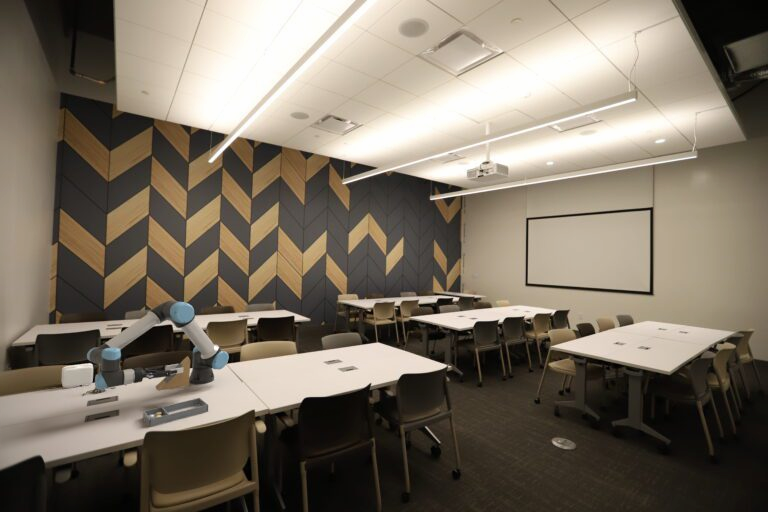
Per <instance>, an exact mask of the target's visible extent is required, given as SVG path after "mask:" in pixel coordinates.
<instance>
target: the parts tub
mask: <svg viewBox="0 0 768 512" xmlns="http://www.w3.org/2000/svg"><path fill="white" fill-rule="evenodd" d="M194 406H195V407H194ZM196 406H197V407H196ZM190 407H193V408H190ZM186 408H190V409H186ZM183 409H185V410H183ZM179 410H181V411H179ZM174 411H177V412H174ZM170 412H171V413H170ZM172 412H174V413H172ZM207 412H209V404H208V403H207V402H206V401H205V400H203V399H202V398H200V397H198V398H193V399H189V400H184V401H180V402H176V403H172V404H168V405H164V406H163V405H162V406H160V407H156V408H155V407H154V408H152V409H151V408H150V409H146V410H142V419H143V421H144V422H145V423H146V425H148V427H149V428H150V427H151V428H152V427H155V426H158V425H162V424H166V423H169V422H173V421H177V420H181V419H185V418H188V417H192V416H196V415H199V414H203V413H207Z"/></svg>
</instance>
